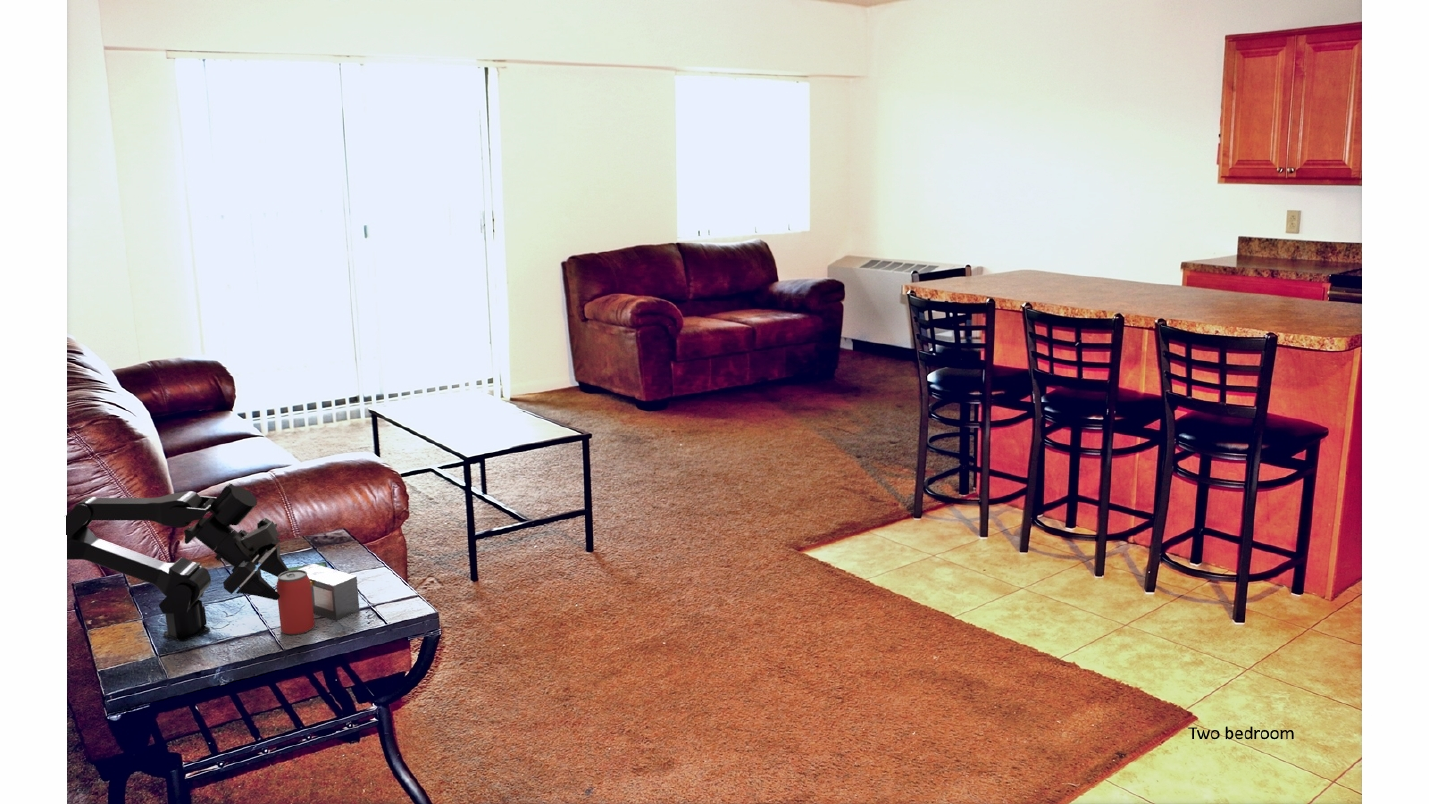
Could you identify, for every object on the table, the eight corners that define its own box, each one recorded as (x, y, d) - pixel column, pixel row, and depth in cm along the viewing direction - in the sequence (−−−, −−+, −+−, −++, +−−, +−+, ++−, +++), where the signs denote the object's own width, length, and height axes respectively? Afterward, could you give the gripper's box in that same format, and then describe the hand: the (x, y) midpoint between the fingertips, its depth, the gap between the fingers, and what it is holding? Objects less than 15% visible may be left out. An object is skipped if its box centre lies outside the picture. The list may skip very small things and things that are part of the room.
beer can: (304, 619, 224) (298, 566, 222) (321, 627, 220) (316, 573, 218) (274, 630, 219) (268, 575, 217) (291, 639, 215) (285, 583, 213)
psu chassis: (335, 622, 223) (331, 586, 221) (291, 607, 230) (288, 573, 228) (359, 611, 228) (356, 576, 226) (316, 597, 235) (312, 563, 234)
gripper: (233, 528, 204) (298, 579, 208) (265, 497, 223) (324, 545, 226) (195, 568, 206) (260, 619, 209) (230, 534, 224) (290, 581, 227)
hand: (285, 589), depth 218 cm, fingers open, 9 cm apart
